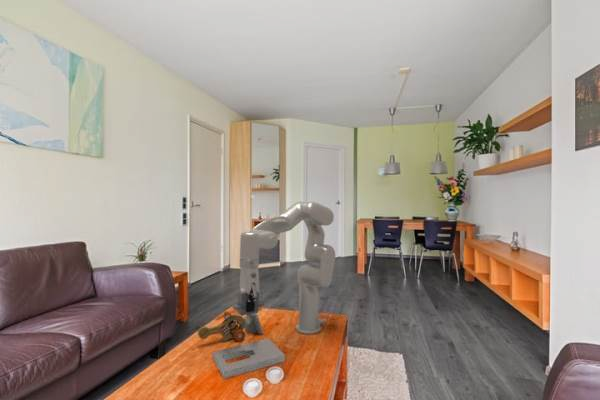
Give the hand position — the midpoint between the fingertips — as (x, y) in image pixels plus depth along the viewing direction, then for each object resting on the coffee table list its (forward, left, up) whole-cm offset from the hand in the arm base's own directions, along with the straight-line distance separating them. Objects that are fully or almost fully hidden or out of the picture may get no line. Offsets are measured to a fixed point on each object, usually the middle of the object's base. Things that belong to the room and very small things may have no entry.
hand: (247, 308), depth 116 cm
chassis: (-1, 0, -20) cm, 20 cm away
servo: (0, 0, -1) cm, 1 cm away
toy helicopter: (+3, -20, -20) cm, 29 cm away
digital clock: (-13, -26, -21) cm, 36 cm away
